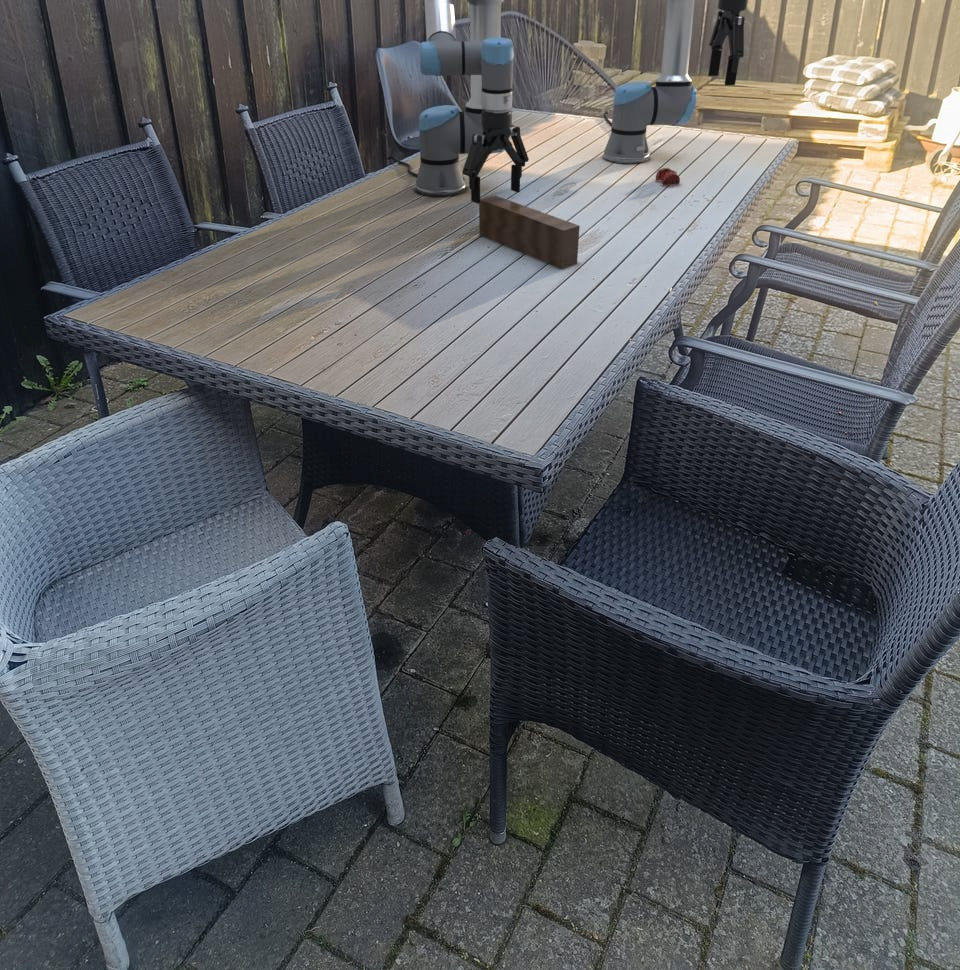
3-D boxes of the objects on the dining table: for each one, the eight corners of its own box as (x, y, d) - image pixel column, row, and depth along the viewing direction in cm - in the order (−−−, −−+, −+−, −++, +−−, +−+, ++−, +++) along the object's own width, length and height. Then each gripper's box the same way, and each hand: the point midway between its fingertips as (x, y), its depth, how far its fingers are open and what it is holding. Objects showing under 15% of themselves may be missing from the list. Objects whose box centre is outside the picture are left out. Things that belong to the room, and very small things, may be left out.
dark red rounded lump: (671, 164, 266) (682, 171, 259) (670, 177, 268) (681, 185, 262) (654, 166, 265) (665, 173, 258) (653, 179, 267) (664, 187, 261)
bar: (479, 234, 226) (479, 199, 220) (494, 230, 228) (494, 195, 223) (561, 268, 206) (563, 230, 200) (577, 263, 209) (579, 225, 203)
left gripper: (466, 120, 198) (467, 210, 210) (544, 104, 210) (540, 190, 223) (447, 114, 202) (449, 202, 215) (524, 99, 215) (521, 183, 228)
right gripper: (766, -3, 213) (750, 88, 226) (731, -13, 234) (719, 71, 246) (737, -2, 213) (723, 89, 225) (705, -12, 233) (694, 72, 245)
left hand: (495, 196), depth 219 cm, fingers open, 13 cm apart
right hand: (721, 80), depth 236 cm, fingers open, 13 cm apart
